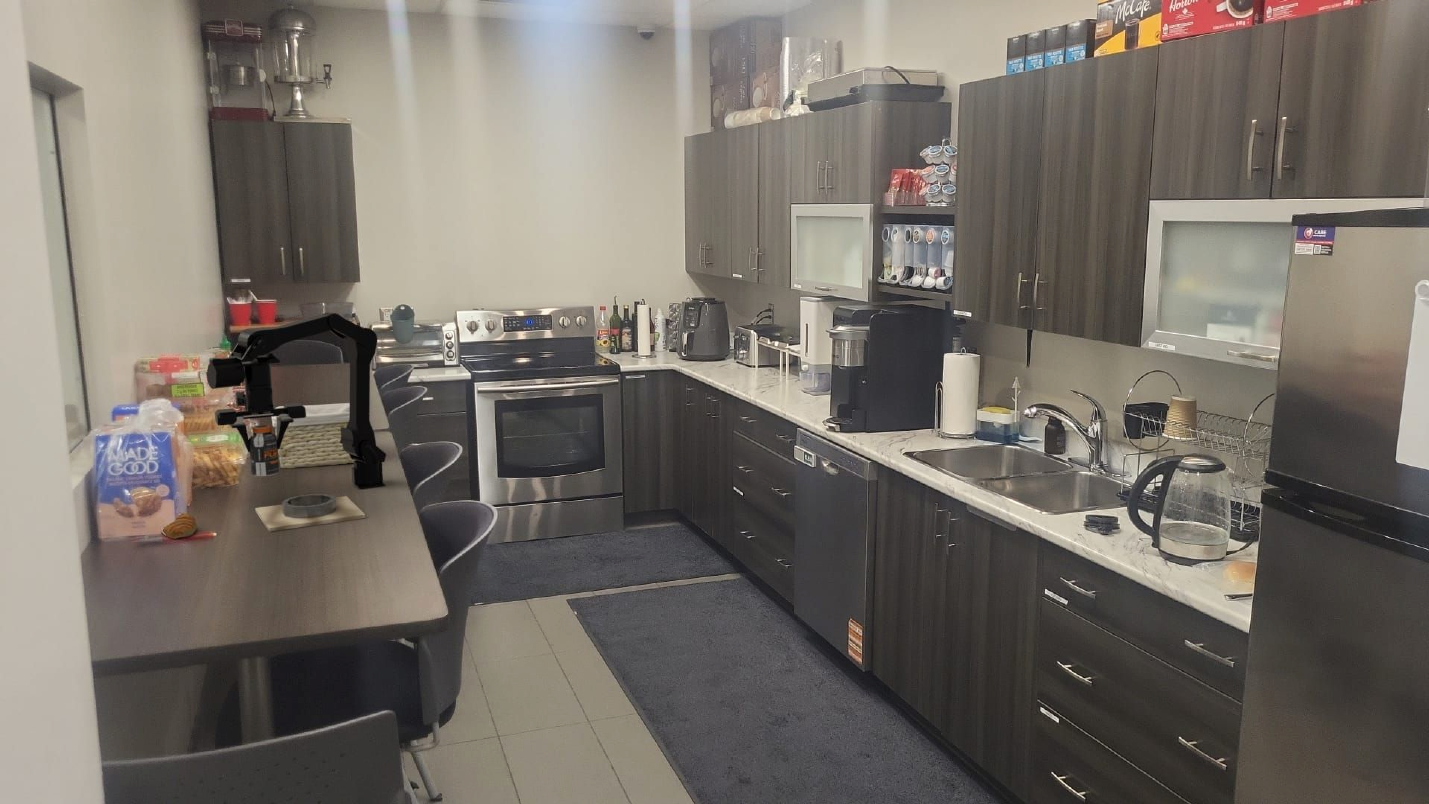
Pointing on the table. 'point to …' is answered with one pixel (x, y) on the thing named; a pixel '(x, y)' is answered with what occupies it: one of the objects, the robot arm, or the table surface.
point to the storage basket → (315, 437)
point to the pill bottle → (263, 451)
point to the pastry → (181, 526)
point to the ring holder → (308, 512)
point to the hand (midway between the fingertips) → (263, 450)
